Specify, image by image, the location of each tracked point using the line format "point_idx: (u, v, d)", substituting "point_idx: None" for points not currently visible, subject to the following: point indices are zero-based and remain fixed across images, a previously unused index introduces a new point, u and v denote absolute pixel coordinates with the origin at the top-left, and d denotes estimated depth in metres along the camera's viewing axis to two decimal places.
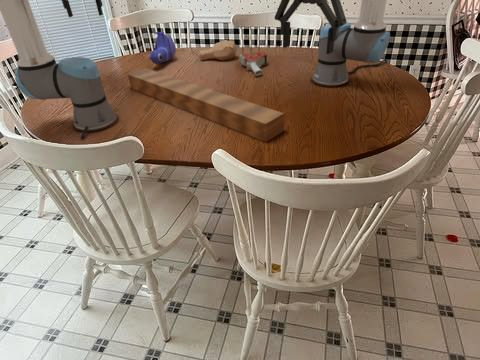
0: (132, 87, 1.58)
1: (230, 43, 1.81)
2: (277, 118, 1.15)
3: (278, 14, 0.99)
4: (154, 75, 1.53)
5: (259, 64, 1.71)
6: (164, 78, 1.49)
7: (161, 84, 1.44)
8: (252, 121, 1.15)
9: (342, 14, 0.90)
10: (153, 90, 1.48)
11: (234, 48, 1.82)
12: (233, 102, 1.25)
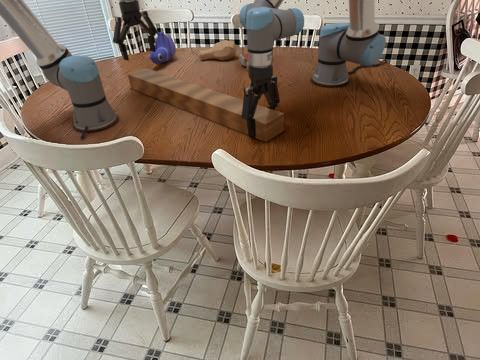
0: (132, 87, 1.58)
1: (230, 43, 1.81)
2: (277, 118, 1.15)
3: (249, 114, 1.11)
4: (154, 75, 1.53)
5: None
6: (164, 78, 1.49)
7: (161, 84, 1.44)
8: None
9: None
10: (153, 90, 1.48)
11: (234, 48, 1.82)
12: (233, 102, 1.25)
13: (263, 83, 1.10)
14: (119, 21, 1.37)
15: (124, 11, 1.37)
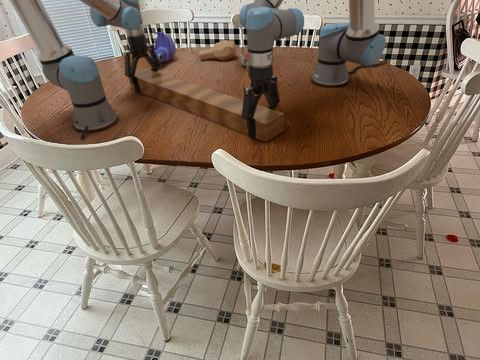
0: (132, 87, 1.58)
1: (230, 43, 1.81)
2: (277, 118, 1.15)
3: (249, 114, 1.11)
4: (154, 75, 1.53)
5: None
6: (164, 78, 1.49)
7: (161, 84, 1.44)
8: None
9: None
10: (153, 90, 1.48)
11: (234, 48, 1.82)
12: (233, 102, 1.25)
13: (263, 83, 1.10)
14: (128, 56, 1.45)
15: (132, 45, 1.45)
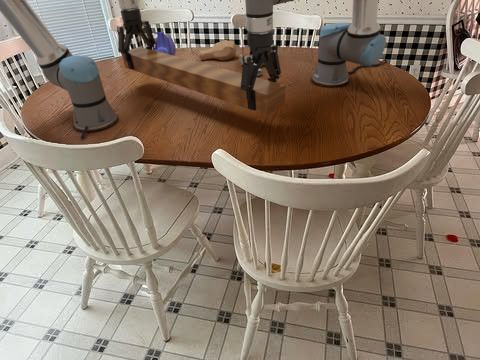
0: (126, 66, 1.52)
1: (230, 43, 1.81)
2: (278, 90, 1.10)
3: (248, 85, 1.05)
4: (148, 52, 1.47)
5: None
6: (159, 55, 1.43)
7: (156, 60, 1.38)
8: None
9: None
10: (148, 68, 1.42)
11: (234, 48, 1.82)
12: (232, 76, 1.20)
13: (263, 51, 1.05)
14: (121, 31, 1.40)
15: (126, 19, 1.39)
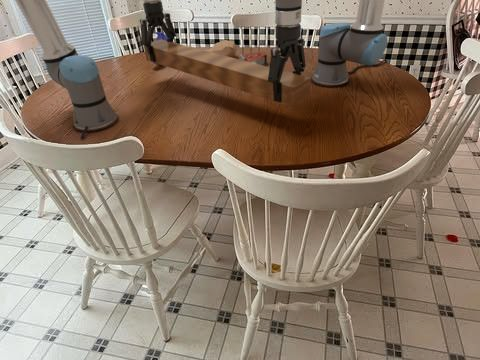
0: (148, 58, 1.55)
1: (230, 43, 1.81)
2: (304, 82, 1.12)
3: (276, 77, 1.08)
4: (170, 45, 1.49)
5: (259, 64, 1.71)
6: (181, 48, 1.46)
7: (179, 53, 1.40)
8: None
9: None
10: (170, 60, 1.44)
11: (234, 48, 1.82)
12: (257, 68, 1.23)
13: (290, 44, 1.07)
14: (144, 24, 1.42)
15: (148, 12, 1.41)
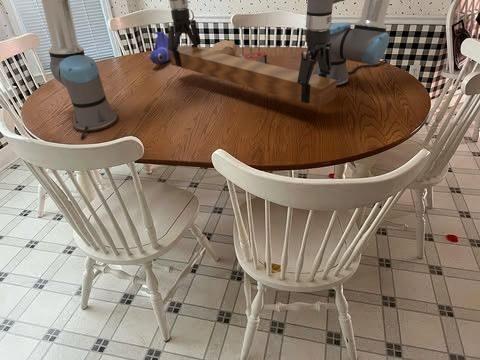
0: (173, 63, 1.60)
1: (230, 43, 1.81)
2: (331, 84, 1.17)
3: (305, 79, 1.13)
4: (196, 50, 1.55)
5: None
6: (207, 53, 1.51)
7: (206, 57, 1.46)
8: None
9: None
10: (196, 65, 1.49)
11: (234, 48, 1.82)
12: (283, 72, 1.27)
13: (319, 48, 1.12)
14: (172, 30, 1.47)
15: (176, 19, 1.47)
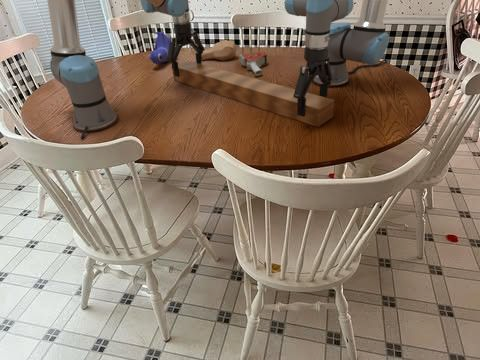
0: (175, 78, 1.64)
1: (230, 43, 1.81)
2: (329, 104, 1.21)
3: (301, 93, 1.14)
4: (197, 66, 1.59)
5: (259, 64, 1.71)
6: (208, 69, 1.55)
7: (207, 74, 1.50)
8: None
9: None
10: (198, 81, 1.54)
11: (234, 48, 1.82)
12: (283, 90, 1.32)
13: (318, 65, 1.15)
14: (174, 41, 1.50)
15: (178, 32, 1.50)
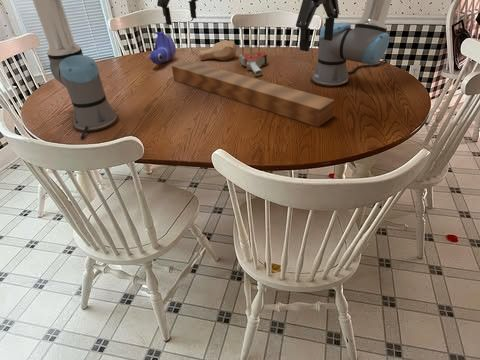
0: (175, 78, 1.64)
1: (230, 43, 1.81)
2: (329, 104, 1.21)
3: (305, 21, 1.01)
4: (197, 66, 1.59)
5: (259, 64, 1.71)
6: (208, 69, 1.55)
7: (207, 74, 1.50)
8: (305, 107, 1.21)
9: None
10: (198, 81, 1.54)
11: (234, 48, 1.82)
12: (283, 90, 1.32)
13: None
14: None
15: None
